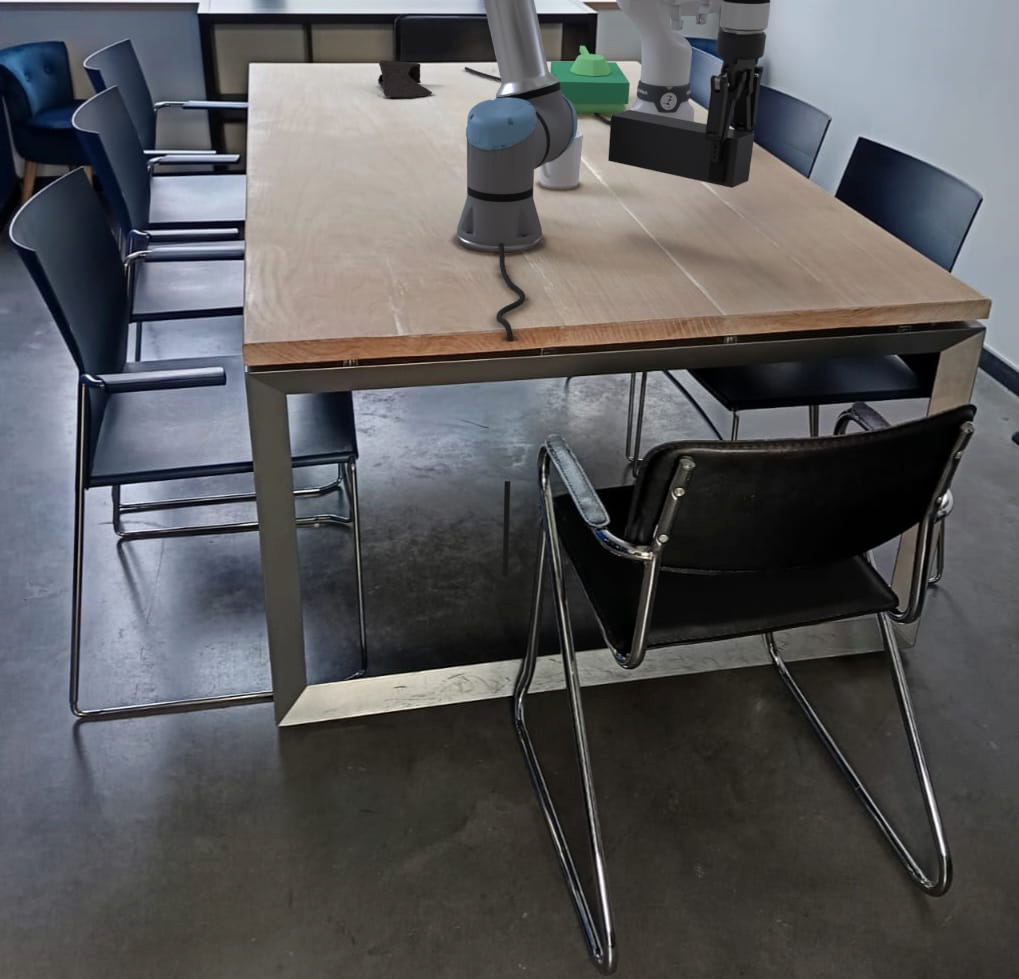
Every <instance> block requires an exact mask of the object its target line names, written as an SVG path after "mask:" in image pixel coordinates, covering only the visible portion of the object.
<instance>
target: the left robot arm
mask: <svg viewBox="0 0 1019 979" xmlns="http://www.w3.org/2000/svg"><path fill="white" fill-rule="evenodd" d="M483 4H484V9H485V14H486V18H487V23H488V27H489V31H490V32H489V33H490V36H491V41H492V45H493V49H494V54H495V59H496V64H497V68H498V72H499V78H501V81H500V83H501V84H500V86H499V88H498V90H497V92H496V93H495V98H494V99H487V100H482V101H481V102H479V103H477V104H475V105H474V106H472V107H471V109H470V111H468V115H467V120H466V121H467V122H466V128H465V137H466V192H467V193H466V198H465V202H464V205H463V209H462V211H461V214H460V218H459V220H458V224H457V228H456V241H457V243H458V244H459V245H461V246H462V247H464V248H466V249H468V250H470V251H475V252H479V253H486V254H497V255H498V258H499V260H498V262H499V269H500V273H501V276H502V279H503V280H504V282H505V284H506V285H507V287H508V288H509V289H511V291H513V292H515V293H516V294H517V295H518V296H519V298H518V299H517V300H516V301H514V302H512V303H510V304H507V305H505V306H504V307H502V308H500V309H499V310H498V311H497V313H496V316H495V317H496V321H497V322H498V323H499V324H500V325H502V326H503V327H504V329H505V333H506V340H507V341H508V343H509V342H510V343H511V342H514V334H513V329H512V326H511V324H510V322H509V321H508V320H507V319H506V318H504V317H503V316H504V315H505V314H506V313H509V312H510V311H513V310H514V309H516V308H519V307H520V306H522V305H523V304H524V303H525V300H526V293H525V292H524V291H523V289H522V288H520V287H519V286H518V285H516V284H515V283H514V282H513V281H512V280H511V278H510V276H509V274H508V271H507V268H506V257H505V255H506V254H507V255H508V254H517V253H524V252H527V251H530V250H533V249H536V248H538V247H539V246H540V245H541V244H542V243H543V229H542V224H541V221H540V220H541V219H540V218H539V214H538V213H539V212H538V210H537V206H536V204H535V199H534V184H535V181H534V180H535V170H536V169H537V168H540V166H542V165H544V164H545V163H547V162H551V161H554V160H555V159H557V158H558V157H560V156H561V155H562V154H563V153H564V152H565V151H566V150H567V149H568V148H569V147H570V146H571V144H572V143H573V141H574V139H575V136H576V132H577V130H578V116H577V115H578V114H576V111H575V109H574V107H573V105H572V103H571V102H570V100H568V99H567V98H566V97H565V96H564V95H563V94H562V92H561V87H560V82H559V79H558V78H556V77H555V76H553V75H552V74H551V71H550V70H549V67H548V62H547V56H546V51H545V47H544V46H545V45H544V42H543V37H542V32H541V28H540V23H539V17H538V12H537V8H536V2H535V0H483ZM770 10H771V0H722V5H721V6H720V16H719V27H720V28H721V30H719V32H718V33H717V41H716V51H715V52H716V55H717V56H718V57H720V58H722V59H723V61H722V65H721V68H720V73H718V75H714V74H712V75H711V76H710V80H709V83H710V94H709V102H708V103H709V104H708V110H707V117H706V118H707V119H706V123H705V124H706V132H705V138H706V140H710V141H712V148H711V157H710V166H709V175H708V180H711V181H716V182H721V183H723V182H724V181H725V172H726V164H727V155H728V146H729V142H726V140H727V135H728V131H729V129H730V127H731V122H732V119H733V129H735V130H740V131H746V132H751V133H755V131H756V129H755V128H756V126H757V118H758V108H759V99H760V90H761V81H762V77H763V74H764V66H762V65H756V60H759V59H761V58H762V57H763V56H764V55H765V47H766V40H767V34H766V32H765V30H766V29H768V27H769V19H770V18H769V17H770ZM503 490H504V492H503V495H504V496H503V533H502V534H503V536H502V538H503V540H502V541H503V542H502V576H503V577H504V578H507V577H508V576H509V555H510V553H509V552H510V550H509V549H510V548H509V547H510V516H511V515H510V512H511V511H510V509H511V480H504V489H503Z"/></svg>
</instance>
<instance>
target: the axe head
mask: <svg viewBox="0 0 1019 979" xmlns="http://www.w3.org/2000/svg"><path fill="white" fill-rule="evenodd" d="M378 66H379V68H380V72H381V74H379V75H378V79H377V84H378V85H379V86H380V87H381V88H382V89H383V95H384V96H385V97H388V98H394V99H395V98H396V99H403V98H405V99H406V98H407V99H411V98H418V97H425V96H429V95H432V94H433V91H431V90H430V89H428V88H427V87H425V86H422V85H421V84H422V82H421V63H419V62H410V61H408V62H407V61H397V60H388V59H387V60H380V61H379V62H378Z"/></svg>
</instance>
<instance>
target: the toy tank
mask: <svg viewBox="0 0 1019 979" xmlns="http://www.w3.org/2000/svg"><path fill="white" fill-rule="evenodd" d="M579 53H580V54H579V55H578V56H576V59H575V61H567V60H566V61H563V60H551V61H550V73H551V74H552V75H553V76H555V77H556V78H558V79H559V82H560V87H561V92H562V94H563V95H564V96H565V97H566V98H567V99H568V100H570V102H571V103H572V105H573V107H574V109H575V111H576V115H584V116H585V115H587V116H588V115H590V116H591V115H593V114H594V113H598V114H600V115H601V116H606V115H607V116H611V115H613V114H617V113H620V112H623V111H625V107H626V106H625V105H629V100H630V99H629V98H630V97H629V96H630V87H631V86H630V85H631V82H630V81H629V80H628V78H627V77H626V75H625V74H624V73H623V71H622V69H621V68H620V66H619V65H618V63H617V62H615V61H614V62H613V61H611V62H610V61H608V60H607V58H606V56H603V55H601V54H594V53H589V50H588V49H587V47H586V45H580V46H579ZM593 116H594V115H593Z"/></svg>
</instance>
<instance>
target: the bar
mask: <svg viewBox="0 0 1019 979" xmlns="http://www.w3.org/2000/svg"><path fill="white" fill-rule="evenodd" d="M610 120H611V124H609V125H610V127H609V128H610V129H609V142H608V157H607V158H608V159H607V161H608V162H612V163H616V164H622V165H626V166H630V167H635V168H640V169H644V170H649V171H652V172H657V173H663V174H667V175H671V176H675V177H681V178H686V179H689V180H694V181H699V182H703V183H709V184H712V185H717V186H721V187H726V188H731V189H733V188H735V187H737V186H740V185H742V184H744V183H747V182H749V180H750V171H751V163H752V157H753V149H754V141H755V132H754V133H751V132H746V131H740V130H735V129H734V128H729V131H728V135H727V140H726V142H729V146H728V155H727V164H726V172H725V181H724V182H723V183H721V182H716V181H711V180H708V175H709V166H710V157H711V148H712V141H710V140H706V138H705V132H706V124H707V123H703V122H698V121H694V122H692V121H687V120H681V119H676V118H671V117H665V116H660V115H655V114H649V113H644V112H639V111H633V110H631V109H627V110H624V111H623V112H620V113H617V114H613V115H610Z"/></svg>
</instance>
